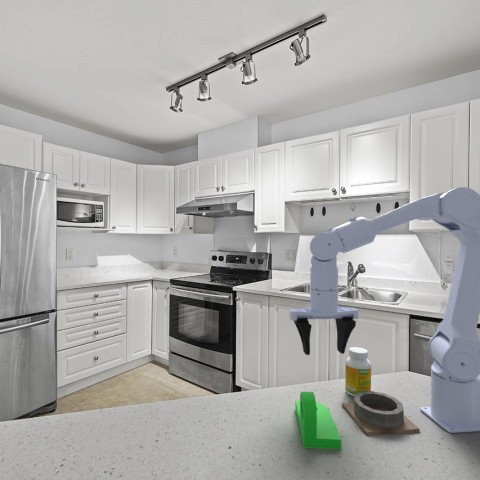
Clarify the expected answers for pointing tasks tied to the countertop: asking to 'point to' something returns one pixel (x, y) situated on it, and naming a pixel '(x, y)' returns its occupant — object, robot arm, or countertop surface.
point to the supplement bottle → (357, 371)
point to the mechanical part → (316, 423)
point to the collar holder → (379, 414)
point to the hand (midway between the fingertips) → (323, 352)
